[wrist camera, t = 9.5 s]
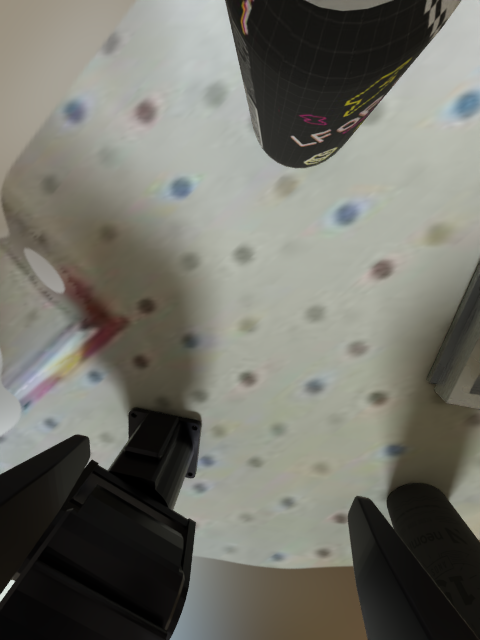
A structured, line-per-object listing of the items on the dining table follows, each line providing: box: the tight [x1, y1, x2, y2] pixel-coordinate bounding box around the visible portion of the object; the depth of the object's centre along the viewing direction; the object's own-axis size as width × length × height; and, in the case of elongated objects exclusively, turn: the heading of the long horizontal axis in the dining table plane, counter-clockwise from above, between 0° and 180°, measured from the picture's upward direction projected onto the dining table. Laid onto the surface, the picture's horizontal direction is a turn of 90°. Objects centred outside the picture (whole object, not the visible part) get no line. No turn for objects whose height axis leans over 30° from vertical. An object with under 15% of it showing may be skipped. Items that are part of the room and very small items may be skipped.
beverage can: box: [225, 0, 461, 168], centre depth 9 cm, size 6×6×12 cm
